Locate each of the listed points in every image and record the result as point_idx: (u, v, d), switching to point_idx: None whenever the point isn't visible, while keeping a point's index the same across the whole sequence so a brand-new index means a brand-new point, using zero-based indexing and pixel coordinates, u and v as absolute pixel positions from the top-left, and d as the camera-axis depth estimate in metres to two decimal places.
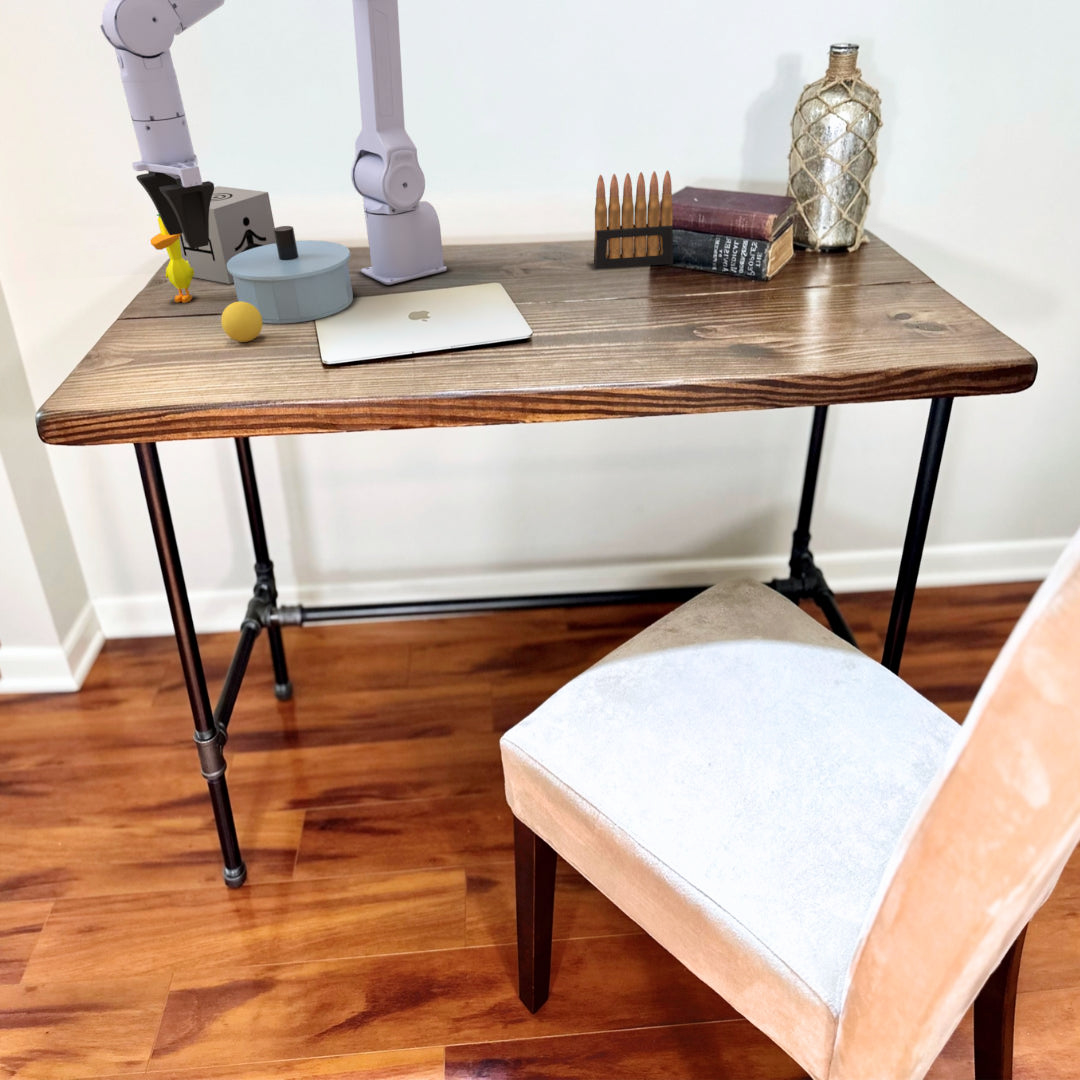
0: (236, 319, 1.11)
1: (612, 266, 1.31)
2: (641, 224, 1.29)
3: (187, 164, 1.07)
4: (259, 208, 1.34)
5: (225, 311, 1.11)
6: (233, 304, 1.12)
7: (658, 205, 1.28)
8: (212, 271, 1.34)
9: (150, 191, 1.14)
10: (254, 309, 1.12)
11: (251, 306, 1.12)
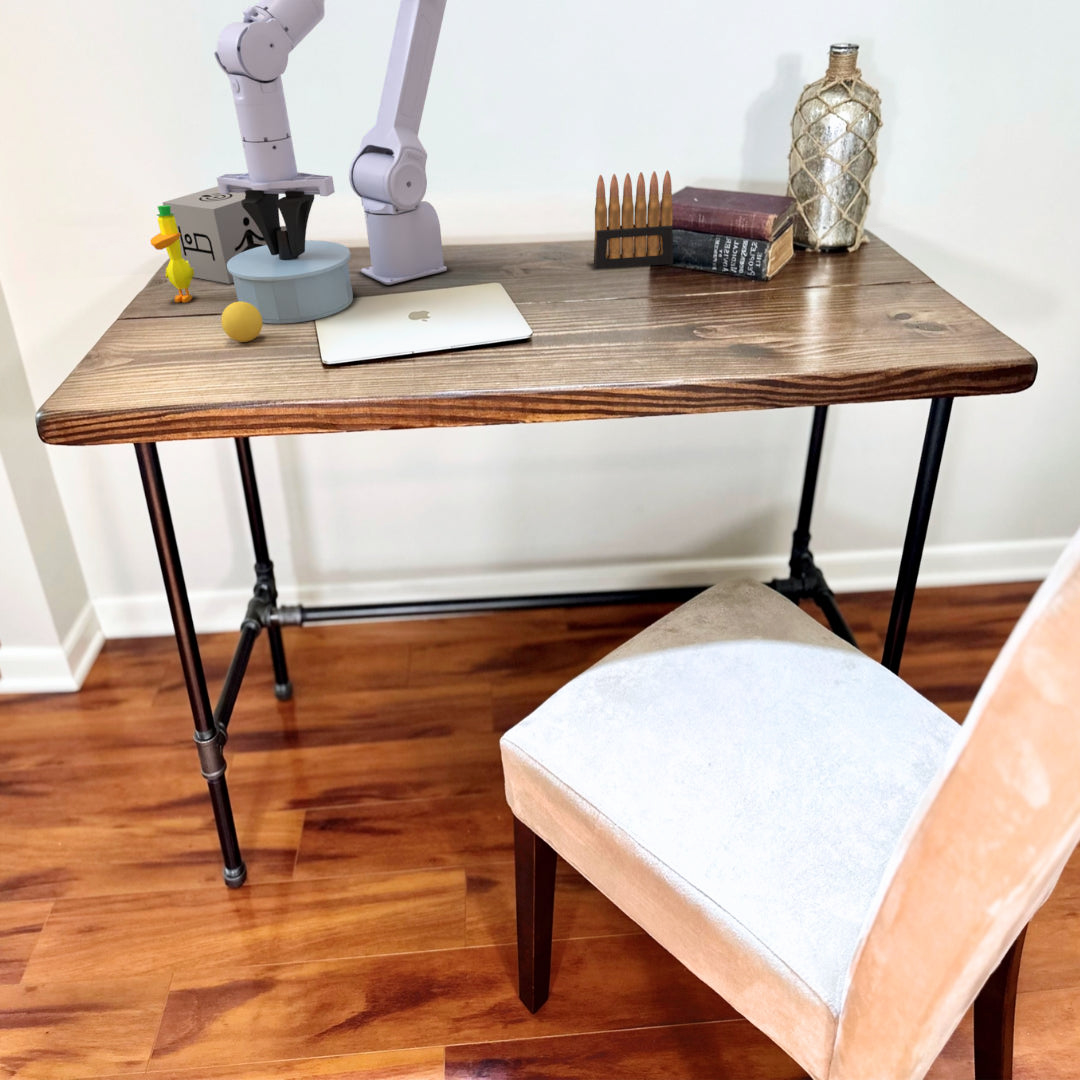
0: (236, 319, 1.11)
1: (612, 266, 1.31)
2: (641, 224, 1.29)
3: (311, 177, 1.15)
4: None
5: (225, 311, 1.11)
6: (233, 304, 1.12)
7: (658, 205, 1.28)
8: (212, 271, 1.34)
9: (261, 213, 1.17)
10: (254, 309, 1.12)
11: (251, 306, 1.12)
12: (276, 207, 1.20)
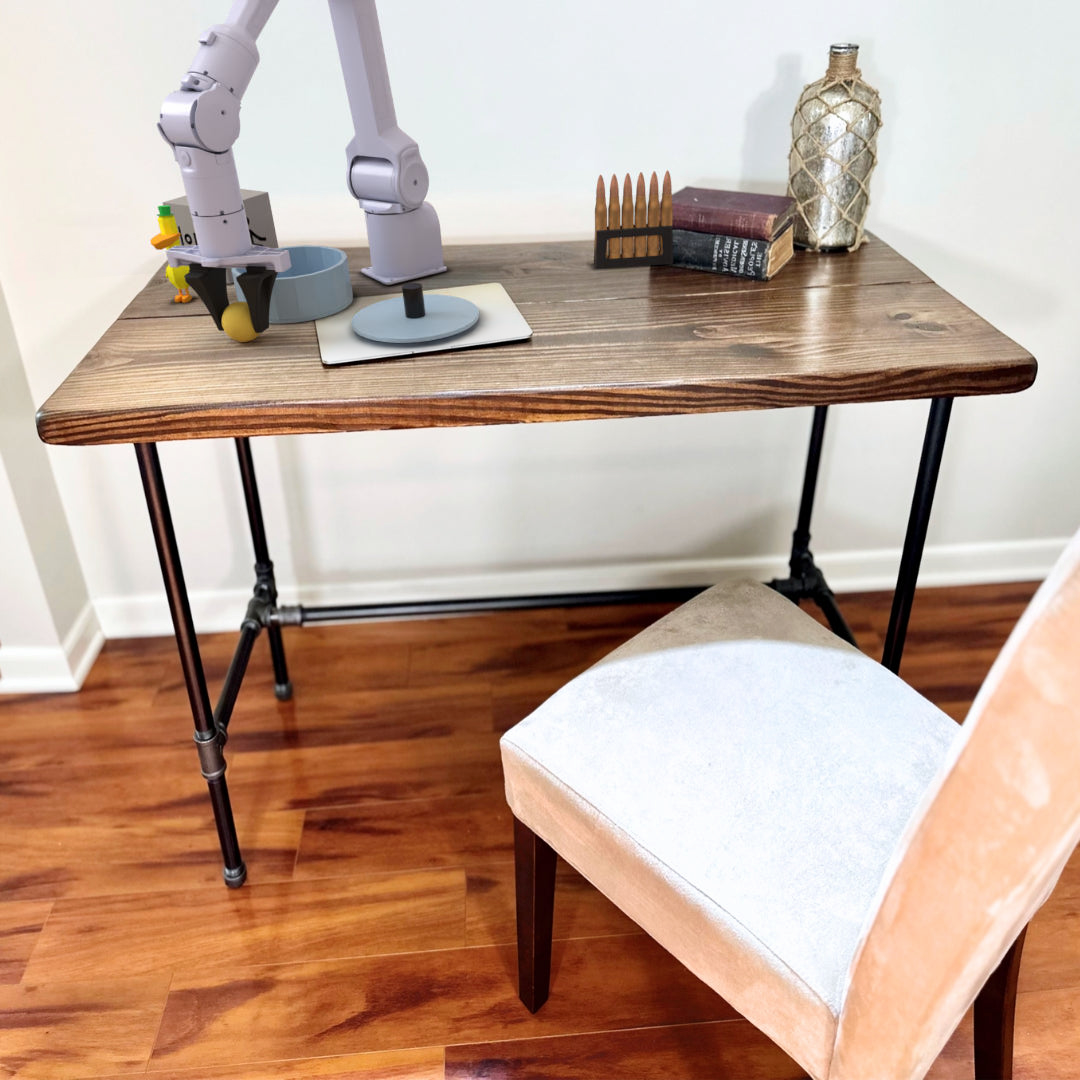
0: (236, 319, 1.11)
1: (612, 266, 1.31)
2: (641, 224, 1.29)
3: (266, 251, 1.08)
4: (259, 208, 1.34)
5: (225, 311, 1.11)
6: (233, 304, 1.12)
7: (658, 205, 1.28)
8: None
9: (206, 288, 1.10)
10: None
11: None
12: (223, 280, 1.12)
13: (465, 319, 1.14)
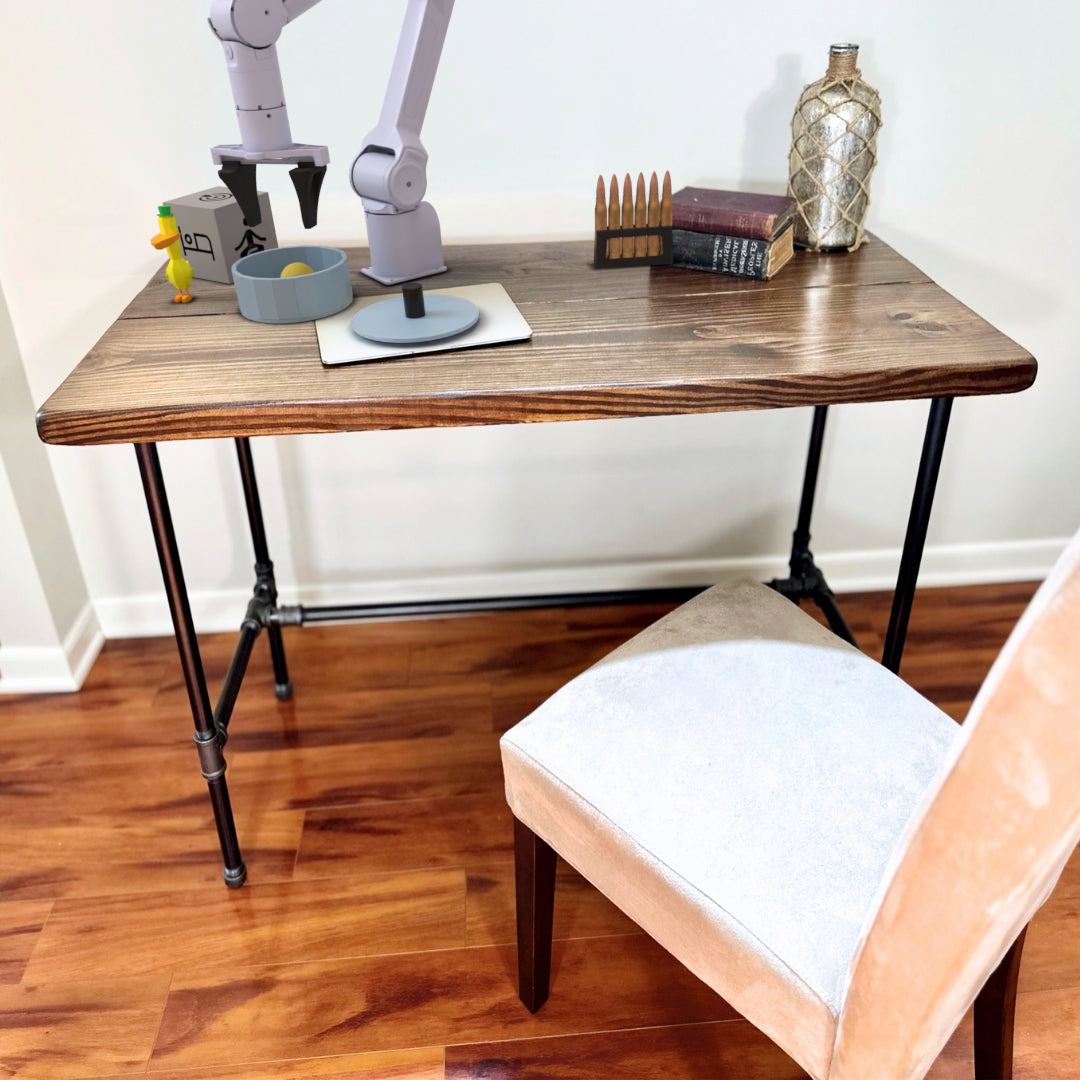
0: (297, 274, 1.21)
1: (612, 266, 1.31)
2: (641, 224, 1.29)
3: (306, 147, 1.14)
4: None
5: (288, 266, 1.22)
6: (297, 263, 1.22)
7: (658, 205, 1.28)
8: (212, 271, 1.34)
9: (238, 184, 1.16)
10: (314, 272, 1.23)
11: (311, 269, 1.23)
12: (254, 178, 1.19)
13: (465, 319, 1.14)
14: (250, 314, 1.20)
